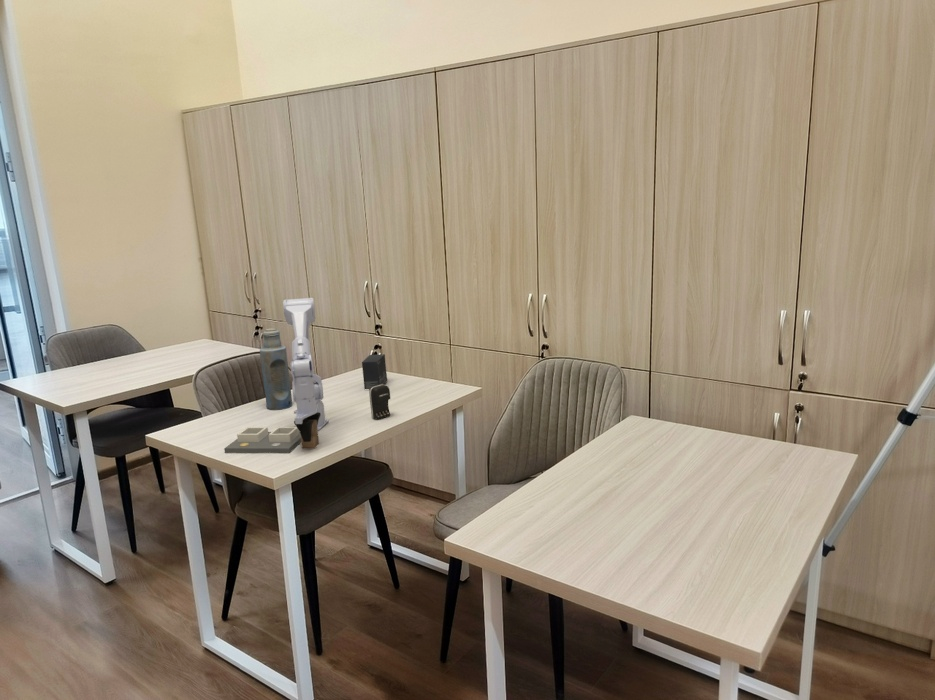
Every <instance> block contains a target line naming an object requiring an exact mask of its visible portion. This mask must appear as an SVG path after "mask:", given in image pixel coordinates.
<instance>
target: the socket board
mask: <svg viewBox="0 0 935 700" xmlns="http://www.w3.org/2000/svg"><path fill="white" fill-rule="evenodd" d="M300 444H302V443H301V434H300V431H299V429H298V428H297V427H296V426H281V427H280V426H278V427H276V428H275V429H274V430H272V431H269V429H268V426H266V427H265V426H264V427H263V426H261V427H260V426H257V427H256V426H255V427H254V426H253V427H251V426H247V427H245V428H244V429H243V430H242V431H240V432H238V433H237V434H236V439H235V440H234V441H233V442H231V443H230V444H228V445H227V446H225V447H224V449H223V450H224V453H225V454H290V453H291V452H292V451H294V450H295V448H296V447H297V445H298V446H299V445H300Z"/></svg>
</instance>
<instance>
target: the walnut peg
mask: <svg viewBox="0 0 935 700" xmlns="http://www.w3.org/2000/svg"><path fill="white" fill-rule="evenodd" d="M318 431H319V430H318V429H317V420H314V421H313V424H312V428H311V441H310V442H304V441H303V439H302V436H301V443H300V444H301V448H302V449H315V448H316V447H317V446H319V444H320V439H319V432H318Z"/></svg>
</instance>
